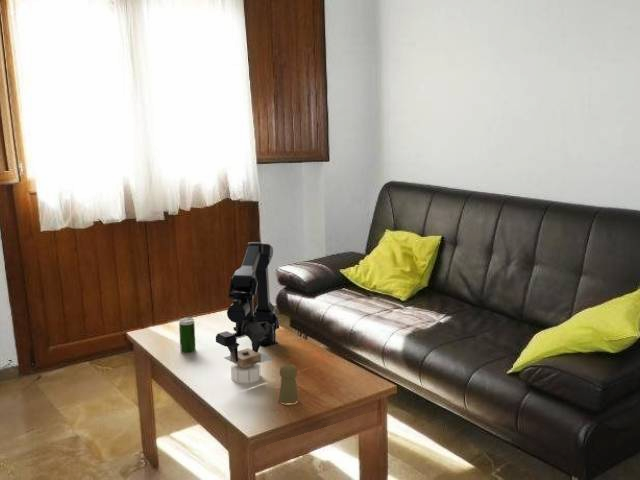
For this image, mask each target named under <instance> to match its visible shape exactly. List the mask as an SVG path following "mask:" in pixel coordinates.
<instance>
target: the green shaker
mask: <svg viewBox="0 0 640 480" xmlns="http://www.w3.org/2000/svg"><path fill="white" fill-rule="evenodd" d="M297 375H298V369H297V367H296V366H295V365H293V364H285V365H282V366H281V367H280V369H279V376H280V378H281V379H280V388H279V396H278V403H279V402H281V403H285V404H286V403H295V402H296V401H298V399H299V400H300V398H299V391H298V386H297V385H298V384H297V379H296V378H297Z"/></svg>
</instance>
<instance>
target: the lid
mask: <svg viewBox="0 0 640 480" xmlns="http://www.w3.org/2000/svg"><path fill="white" fill-rule="evenodd" d="M251 349H252V348H249V347H248V348H244V349H241V350H238V362H235V361H234V359H233V357H232V355H231V353H230V355H229V356H230V361H229V362H231V363H232V364H233V363H235V364H237V365H239V366H241V367H246V366H249V365H252V364H256V363H259V362H261V354H262V353H261V354H259V353H260V352H259V353H257V352H255V351H253V350H251ZM261 363H262V362H261Z"/></svg>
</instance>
